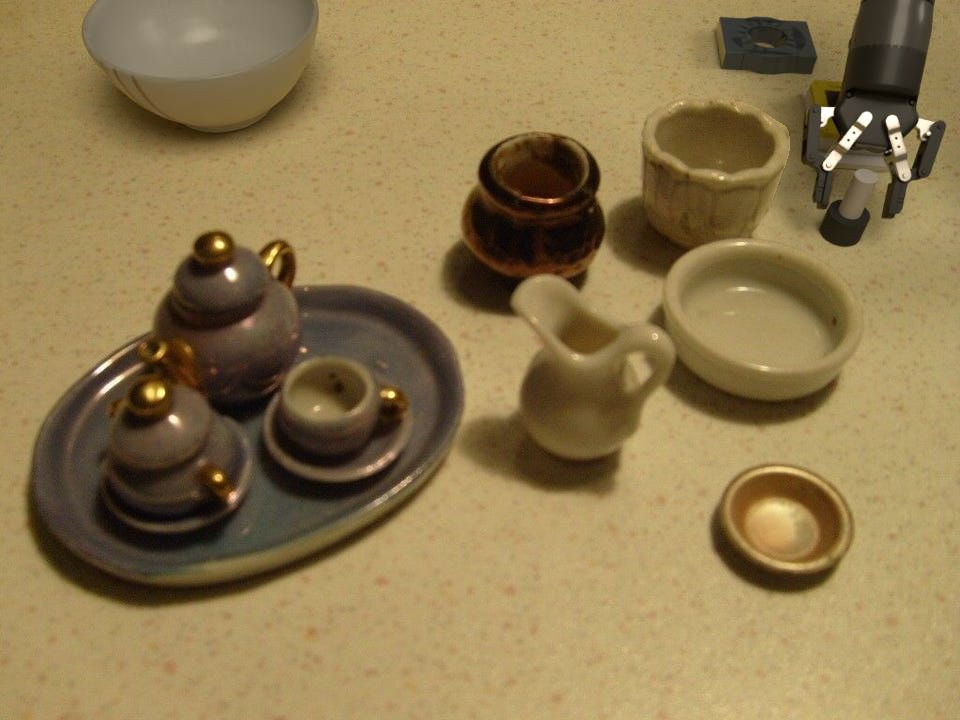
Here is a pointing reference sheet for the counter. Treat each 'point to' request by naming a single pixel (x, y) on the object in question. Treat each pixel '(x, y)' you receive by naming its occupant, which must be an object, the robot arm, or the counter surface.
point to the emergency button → (828, 97)
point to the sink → (743, 54)
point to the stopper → (850, 211)
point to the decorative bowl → (203, 55)
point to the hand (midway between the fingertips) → (854, 213)
